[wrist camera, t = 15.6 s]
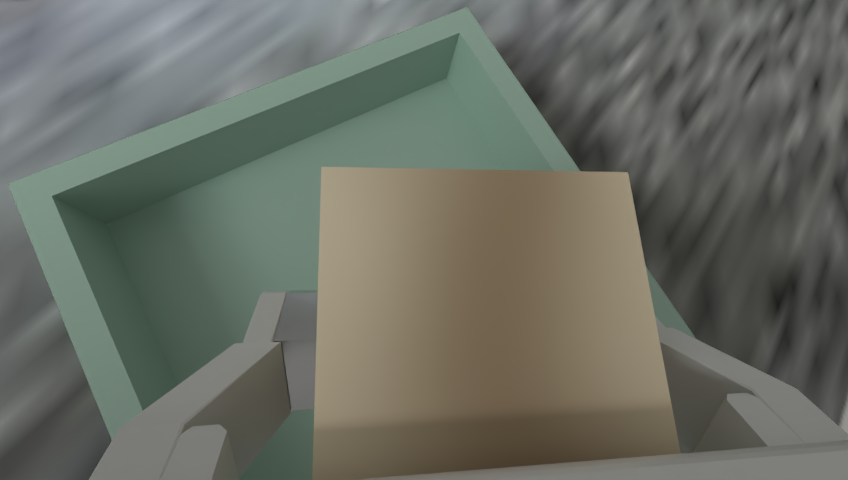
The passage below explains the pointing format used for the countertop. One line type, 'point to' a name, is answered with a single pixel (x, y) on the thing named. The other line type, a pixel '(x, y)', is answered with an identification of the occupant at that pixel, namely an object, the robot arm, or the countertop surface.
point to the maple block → (482, 323)
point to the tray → (260, 207)
